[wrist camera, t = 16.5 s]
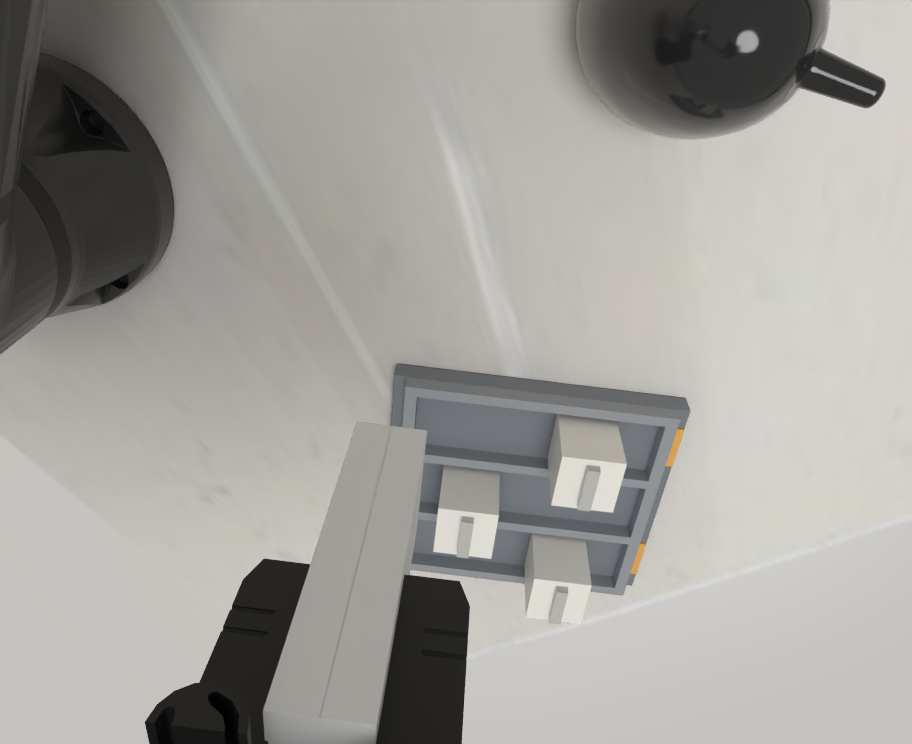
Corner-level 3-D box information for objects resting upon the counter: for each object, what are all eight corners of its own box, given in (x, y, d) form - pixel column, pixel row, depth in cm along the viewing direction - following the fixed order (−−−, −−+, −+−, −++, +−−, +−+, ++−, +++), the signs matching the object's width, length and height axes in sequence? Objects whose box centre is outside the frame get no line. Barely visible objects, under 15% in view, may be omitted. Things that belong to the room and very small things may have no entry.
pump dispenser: (711, 143, 39) (811, 237, 26) (540, 77, 38) (555, 142, 25) (817, -58, 34) (1006, -64, 21) (622, -141, 33) (696, -202, 20)
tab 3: (524, 565, 55) (525, 623, 50) (532, 528, 53) (534, 585, 48) (575, 571, 55) (581, 630, 50) (584, 534, 53) (592, 592, 48)
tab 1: (439, 502, 52) (432, 558, 47) (444, 460, 50) (437, 514, 45) (492, 509, 52) (491, 565, 47) (499, 467, 50) (498, 521, 45)
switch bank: (385, 541, 57) (380, 566, 55) (397, 363, 48) (391, 384, 46) (629, 571, 57) (634, 597, 55) (685, 398, 48) (694, 420, 46)
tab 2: (547, 457, 49) (551, 511, 44) (557, 410, 47) (562, 462, 42) (603, 464, 49) (614, 519, 44) (616, 417, 47) (628, 470, 42)
